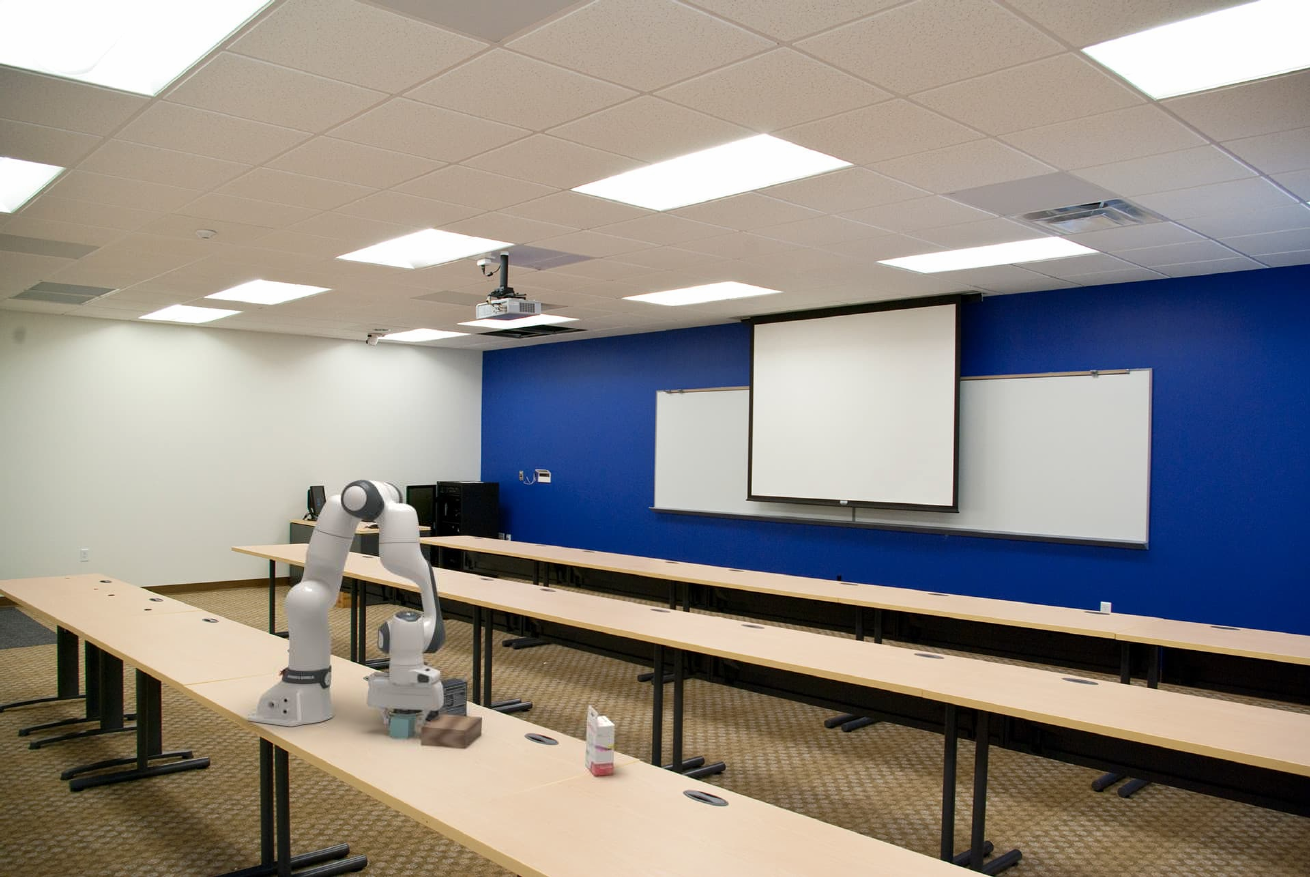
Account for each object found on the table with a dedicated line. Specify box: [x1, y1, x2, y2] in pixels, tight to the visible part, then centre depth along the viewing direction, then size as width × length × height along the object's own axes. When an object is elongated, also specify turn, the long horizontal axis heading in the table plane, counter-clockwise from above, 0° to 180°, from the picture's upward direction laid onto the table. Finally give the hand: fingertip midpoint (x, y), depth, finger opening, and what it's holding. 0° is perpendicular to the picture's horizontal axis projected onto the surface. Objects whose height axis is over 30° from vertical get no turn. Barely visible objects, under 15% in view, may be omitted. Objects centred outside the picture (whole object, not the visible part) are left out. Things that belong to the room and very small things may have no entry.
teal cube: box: [389, 714, 416, 740], centre depth 228 cm, size 5×5×5 cm
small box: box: [425, 677, 468, 723], centre depth 245 cm, size 11×6×10 cm, turn 141°
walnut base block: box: [420, 714, 483, 750], centre depth 226 cm, size 12×12×5 cm
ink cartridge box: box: [584, 705, 616, 777], centre depth 207 cm, size 9×5×15 cm, turn 21°
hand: (404, 725), depth 229 cm, fingers open, 8 cm apart
